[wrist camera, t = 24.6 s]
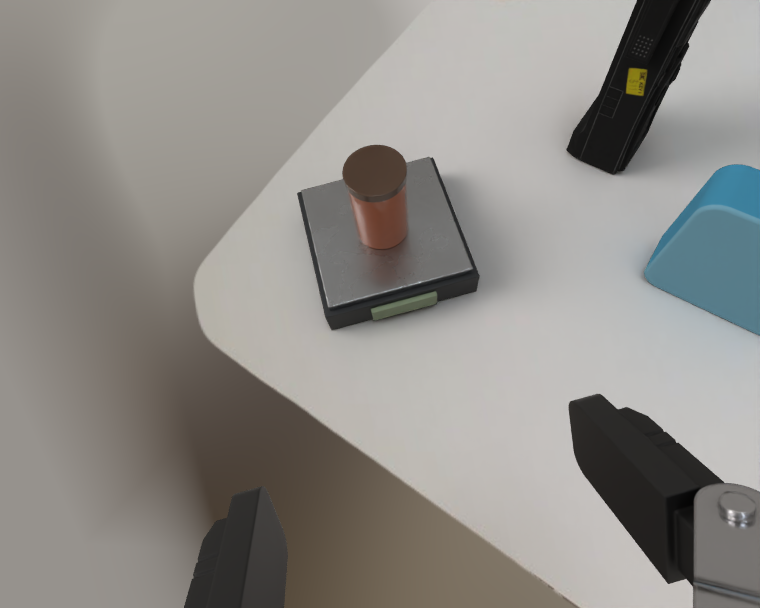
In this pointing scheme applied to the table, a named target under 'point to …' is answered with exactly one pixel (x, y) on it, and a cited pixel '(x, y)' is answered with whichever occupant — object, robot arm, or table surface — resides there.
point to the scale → (395, 301)
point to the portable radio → (636, 82)
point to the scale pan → (393, 265)
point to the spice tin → (378, 195)
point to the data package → (716, 249)
